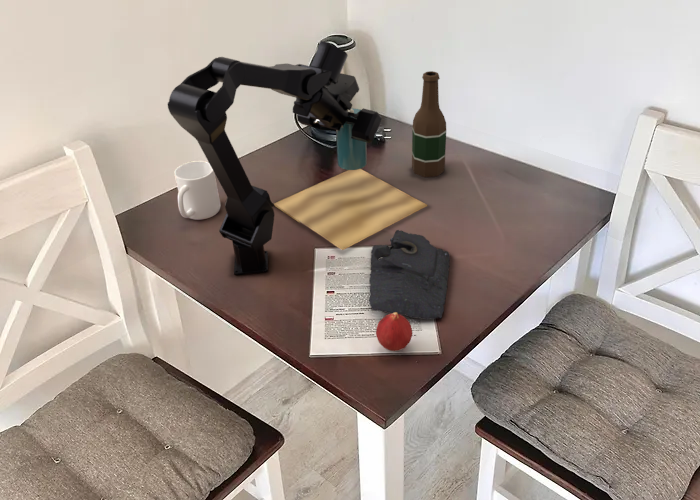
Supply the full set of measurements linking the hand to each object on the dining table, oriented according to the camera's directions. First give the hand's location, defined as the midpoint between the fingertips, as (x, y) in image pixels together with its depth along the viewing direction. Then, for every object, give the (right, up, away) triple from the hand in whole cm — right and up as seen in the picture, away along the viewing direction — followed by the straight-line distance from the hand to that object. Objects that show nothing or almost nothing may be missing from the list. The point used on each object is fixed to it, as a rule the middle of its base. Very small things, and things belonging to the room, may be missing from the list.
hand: (354, 133), depth 145 cm
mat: (-1, -16, 0) cm, 16 cm away
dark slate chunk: (+9, -32, -22) cm, 40 cm away
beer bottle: (+17, -7, +11) cm, 22 cm away
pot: (-1, -6, +3) cm, 7 cm away
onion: (+6, -42, -36) cm, 56 cm away
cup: (-34, -18, 0) cm, 39 cm away
